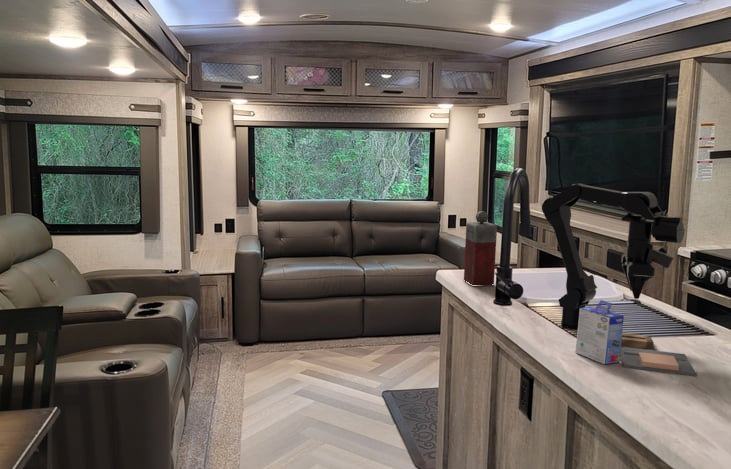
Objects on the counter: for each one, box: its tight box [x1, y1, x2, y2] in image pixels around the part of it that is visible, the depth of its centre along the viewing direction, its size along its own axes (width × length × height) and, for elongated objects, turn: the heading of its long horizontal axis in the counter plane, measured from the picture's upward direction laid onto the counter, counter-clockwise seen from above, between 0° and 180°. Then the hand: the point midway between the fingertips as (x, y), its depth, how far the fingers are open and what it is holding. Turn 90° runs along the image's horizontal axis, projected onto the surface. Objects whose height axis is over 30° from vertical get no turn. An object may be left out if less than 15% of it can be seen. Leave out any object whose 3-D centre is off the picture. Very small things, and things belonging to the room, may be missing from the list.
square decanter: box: [463, 210, 498, 285], centre depth 229 cm, size 9×11×28 cm
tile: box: [638, 352, 679, 371], centre depth 146 cm, size 8×1×7 cm
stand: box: [621, 332, 654, 350], centre depth 163 cm, size 12×6×2 cm, turn 72°
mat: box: [620, 346, 698, 377], centre depth 149 cm, size 16×14×1 cm
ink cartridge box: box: [575, 299, 625, 365], centre depth 150 cm, size 10×6×14 cm, turn 28°
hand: (634, 294), depth 164 cm, fingers open, 9 cm apart
